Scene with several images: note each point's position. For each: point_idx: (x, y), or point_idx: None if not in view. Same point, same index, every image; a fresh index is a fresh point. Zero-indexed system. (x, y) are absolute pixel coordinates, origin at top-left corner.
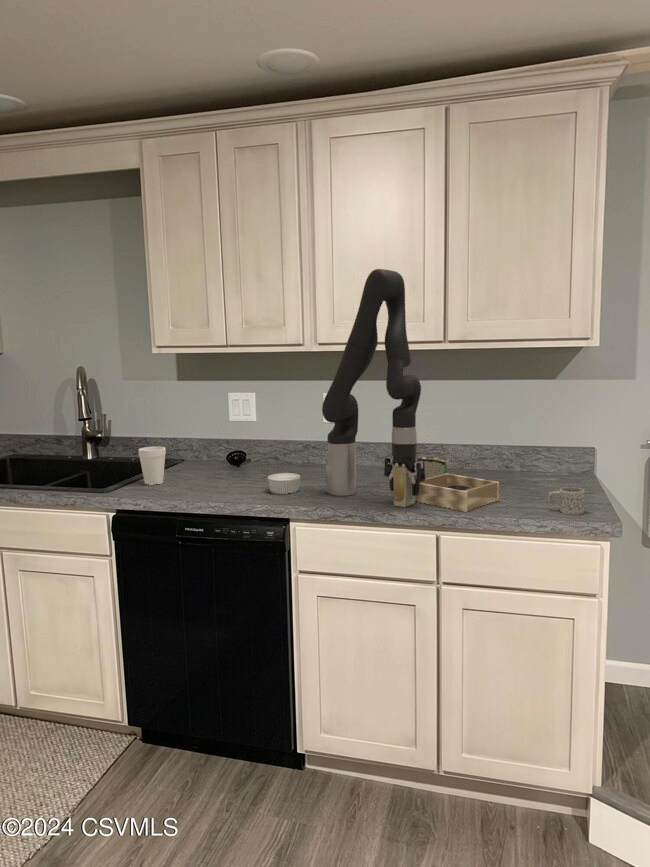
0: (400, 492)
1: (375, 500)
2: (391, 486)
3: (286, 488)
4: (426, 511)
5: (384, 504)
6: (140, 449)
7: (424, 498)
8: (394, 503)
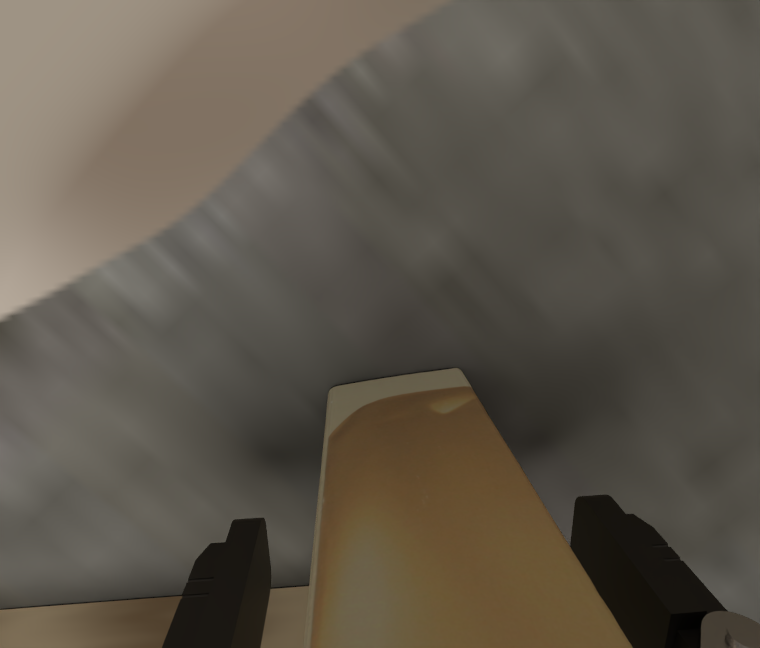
0: (385, 453)
1: (711, 382)
2: (623, 531)
3: None
4: (76, 420)
5: (553, 334)
6: None
7: (291, 627)
8: (452, 374)
